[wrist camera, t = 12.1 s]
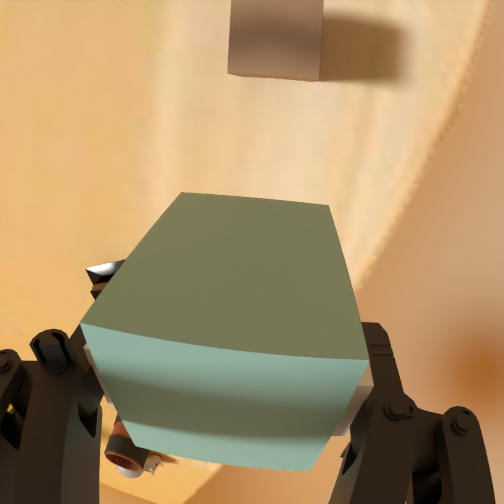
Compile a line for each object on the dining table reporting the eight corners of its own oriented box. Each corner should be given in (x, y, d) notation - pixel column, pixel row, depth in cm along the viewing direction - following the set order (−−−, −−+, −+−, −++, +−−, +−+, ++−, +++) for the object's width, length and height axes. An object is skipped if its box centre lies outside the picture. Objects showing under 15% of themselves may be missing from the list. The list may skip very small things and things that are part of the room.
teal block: (181, 192, 13) (79, 322, 6) (328, 205, 13) (369, 360, 6) (187, 305, 16) (135, 445, 9) (306, 319, 16) (310, 471, 9)
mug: (118, 421, 59) (101, 464, 48) (121, 397, 53) (101, 446, 43) (155, 435, 60) (141, 479, 49) (164, 414, 54) (147, 465, 44)
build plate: (99, 304, 42) (84, 325, 38) (76, 261, 39) (57, 280, 35) (172, 294, 39) (160, 318, 35) (150, 243, 36) (133, 264, 32)
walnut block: (246, 16, 23) (231, -7, 16) (313, 21, 22) (323, -1, 16) (242, 76, 26) (227, 73, 19) (309, 81, 25) (318, 79, 19)
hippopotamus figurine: (159, 452, 70) (164, 480, 64) (115, 452, 66) (118, 480, 59) (160, 443, 66) (166, 473, 60) (113, 442, 62) (116, 473, 55)
